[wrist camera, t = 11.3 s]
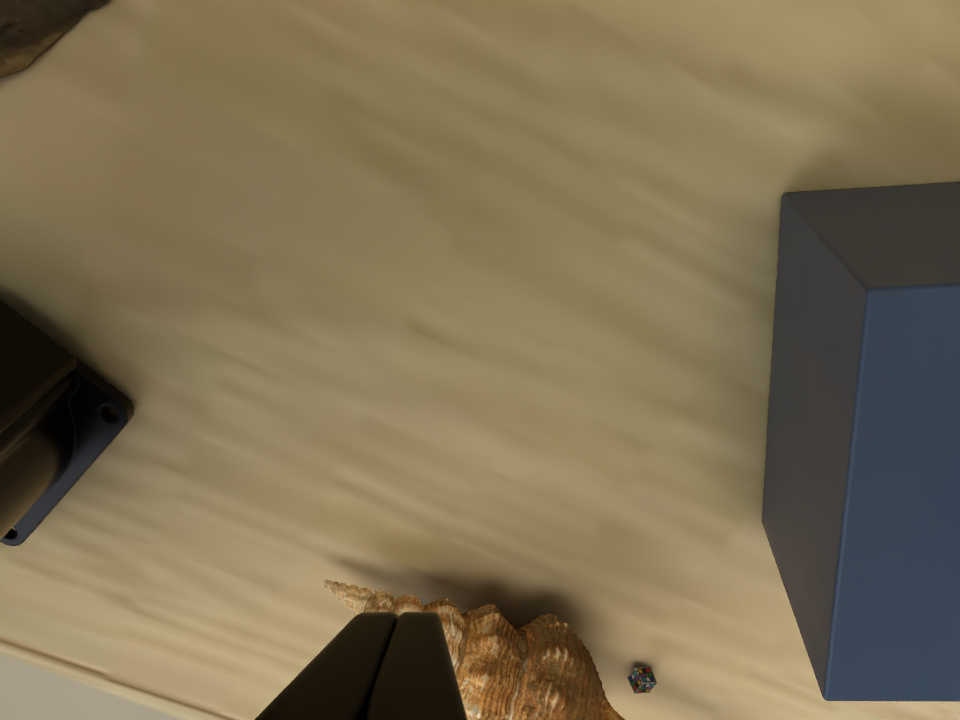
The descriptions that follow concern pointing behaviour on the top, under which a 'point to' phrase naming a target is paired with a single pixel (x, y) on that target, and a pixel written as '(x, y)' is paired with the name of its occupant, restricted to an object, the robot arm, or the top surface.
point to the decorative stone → (35, 27)
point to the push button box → (869, 437)
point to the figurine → (510, 661)
